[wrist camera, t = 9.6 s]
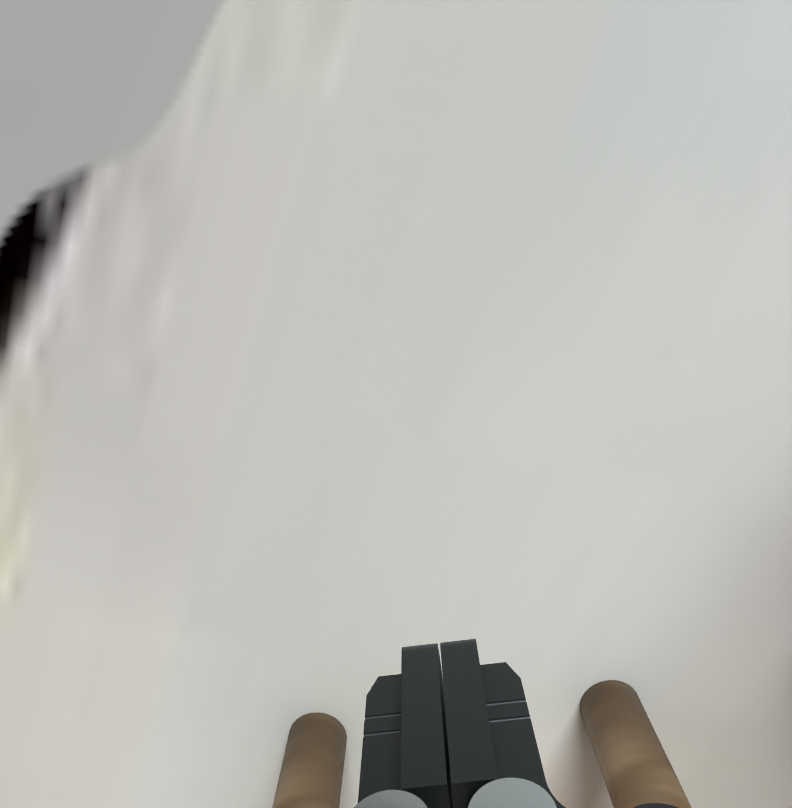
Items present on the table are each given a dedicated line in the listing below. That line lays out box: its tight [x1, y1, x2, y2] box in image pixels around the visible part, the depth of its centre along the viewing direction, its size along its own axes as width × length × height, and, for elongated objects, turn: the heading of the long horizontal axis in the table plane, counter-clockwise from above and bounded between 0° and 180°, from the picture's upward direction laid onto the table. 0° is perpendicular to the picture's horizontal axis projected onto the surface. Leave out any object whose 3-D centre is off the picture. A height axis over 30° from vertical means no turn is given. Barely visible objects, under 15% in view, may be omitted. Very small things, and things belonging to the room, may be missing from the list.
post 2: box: [580, 680, 691, 808], centre depth 26 cm, size 3×3×9 cm
